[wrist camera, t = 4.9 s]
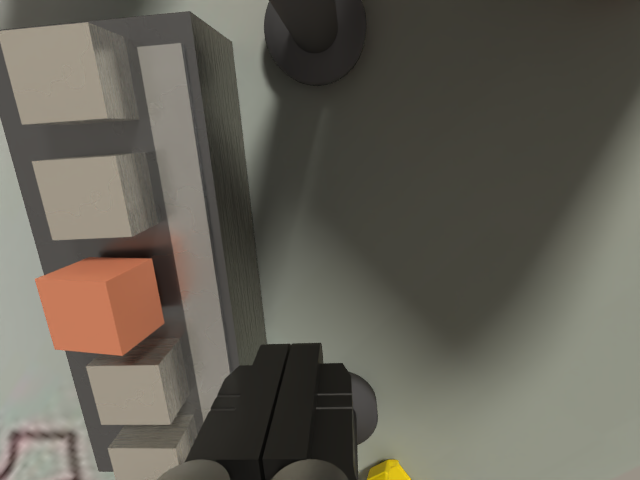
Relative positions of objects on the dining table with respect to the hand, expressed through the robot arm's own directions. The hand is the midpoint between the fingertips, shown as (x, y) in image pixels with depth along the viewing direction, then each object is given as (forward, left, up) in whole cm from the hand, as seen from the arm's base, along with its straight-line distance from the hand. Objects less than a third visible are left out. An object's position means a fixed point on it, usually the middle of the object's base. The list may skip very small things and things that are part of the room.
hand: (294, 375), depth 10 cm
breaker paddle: (+8, 0, -6) cm, 10 cm away
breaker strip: (+8, 0, -11) cm, 14 cm away
